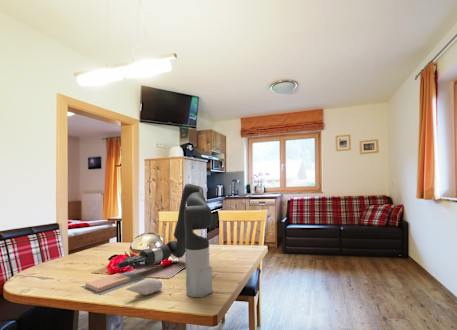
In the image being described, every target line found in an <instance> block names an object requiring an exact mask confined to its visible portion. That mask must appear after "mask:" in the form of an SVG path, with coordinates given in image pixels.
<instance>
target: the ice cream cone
mask: <svg viewBox="0 0 457 330" xmlns="http://www.w3.org/2000/svg"><path fill="white" fill-rule="evenodd" d="M162 288H163V282H162V281H161V279H158V278H157V279H156V278H155V279H154V278H152V277H151V278H149V277H147V278H146V279H144V280H141V281H138V282H135V283H133V284H131V285H129V287H126V288H125V289H124V290H125V291H129V292H133V293H136V294H140V295H143V296H148V295H151V294H154V293H158V292H160V290H162Z"/></svg>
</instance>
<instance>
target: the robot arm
mask: <svg viewBox="0 0 457 330" xmlns="http://www.w3.org/2000/svg"><path fill="white" fill-rule="evenodd" d="M179 203H180V204H179V210H178V216H177V221H176V224H175V229H174V232H173V237H174V238H175V239H176V240H170V241H169V242H167V243H165V244H164V245H161V246H156V247H151V248H148V249H144V250H141V251H140V252H139V253H138V254H137V255H134V256H130V255H129V256H126V257H125V258H124V259H123V261H120V262H118V263H117V268H118V269H123V268H126V267H127V268H130V267H131V268H133V267H135V268H136V267H149V266H151V265H154V264H158V263H159V262H162V261H165V260H168V259H169V258H170V257H171V255H172V256H174V257H175V258H178V259H180V258H183V256H185V287H186V289H185V292H186V295H187V296H188V297H191V298H204V297H206V296H207V295H209V294H211V293H213V271H212V270H213V267H211V265H210V241H209V239H208V238H207V237H204V236H201V235H198V234H196V233H195V232H194V231H195V230H198V231H199V230H206V229H209V228H210V227H211V226H212V223H213V213H212V210H211V208H210V206H209V204H208V203H207V200H206V198H205V195H204V189H203V187H202V186H200V185H197V184H196V185H195V184H193V183H186V184H185V185H184V187H183V189H182V193H181V199H180V202H179Z"/></svg>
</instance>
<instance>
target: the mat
mask: <svg viewBox="0 0 457 330" xmlns="http://www.w3.org/2000/svg"><path fill="white" fill-rule="evenodd" d="M120 274H121V275H124V276H128V277H130V281H129V282H126V283H123V284H121V285H118V286H115V287H112V288H109V289H106V290H104V291H101V292H96V291H94V290H92V289H89V288H87V287H86V284H85V285H82V286H80V288H83V289H84V290H87V291H90V292H91V293H93V294H96V295H98V296H102V295H104V294H108V293H111V292H114V291H116V290H119V289H122V288H125V287H127V286H131V285H134V284H136V283H138V282H140V281H142V280H144V279H146V278H148V277H147V276H144V275H140V274H138V273H137V274H136V273H133V272H130V271H125V272H123V273H120Z"/></svg>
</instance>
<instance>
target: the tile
mask: <svg viewBox="0 0 457 330" xmlns="http://www.w3.org/2000/svg"><path fill="white" fill-rule="evenodd" d="M121 274H122V273H118V272H117V273H115V274H111V275H108V276H105V277H101V278H98V279H95V280H90V281H88V282H86V283H85V285H86V287H87V288H89V289H92V290H94V291H96V292H101V291H104V290H106V289H109V288H112V287H115V286H118V285H121V284H123V283H126V282H129V281H130V277H128V276H124V275H121Z"/></svg>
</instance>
